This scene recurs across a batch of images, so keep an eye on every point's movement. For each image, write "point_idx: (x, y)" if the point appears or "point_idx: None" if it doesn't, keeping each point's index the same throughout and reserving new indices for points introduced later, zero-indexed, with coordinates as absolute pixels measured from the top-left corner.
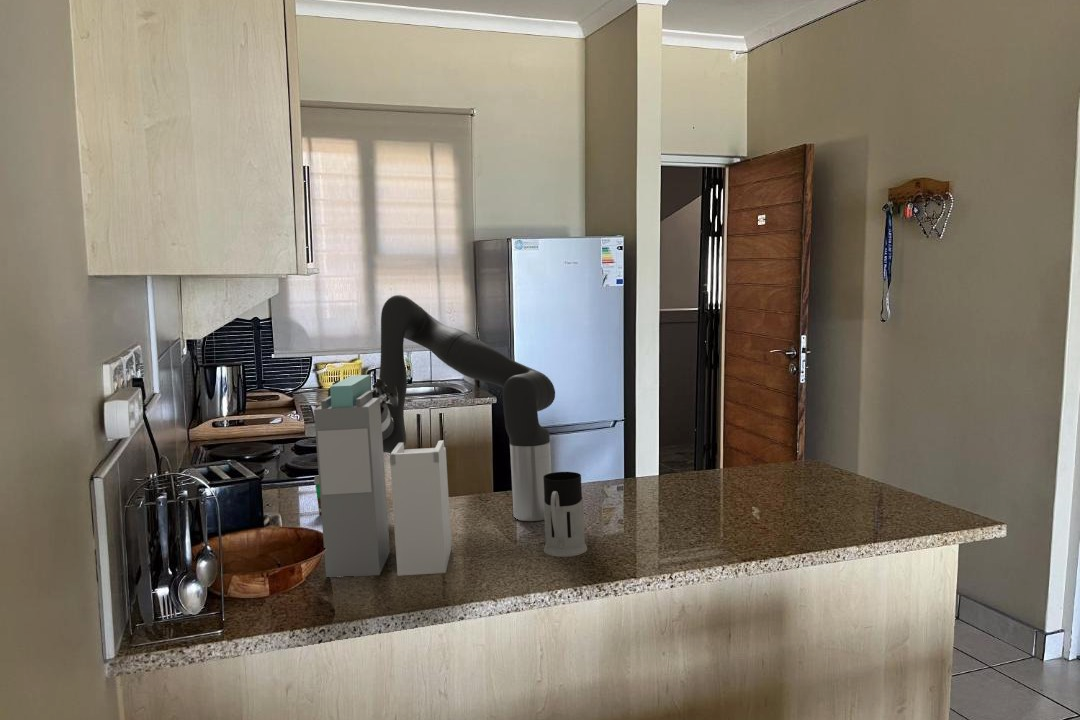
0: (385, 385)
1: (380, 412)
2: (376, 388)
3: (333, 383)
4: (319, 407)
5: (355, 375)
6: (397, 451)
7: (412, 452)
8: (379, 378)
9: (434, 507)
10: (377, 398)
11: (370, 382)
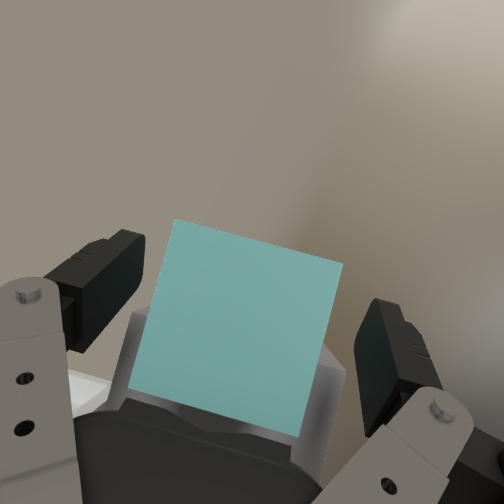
0: (49, 277)
1: (115, 374)
2: (66, 357)
3: (406, 325)
4: None
5: (303, 253)
6: (95, 395)
7: (72, 375)
8: (126, 231)
9: None
10: (145, 310)
11: (160, 285)
